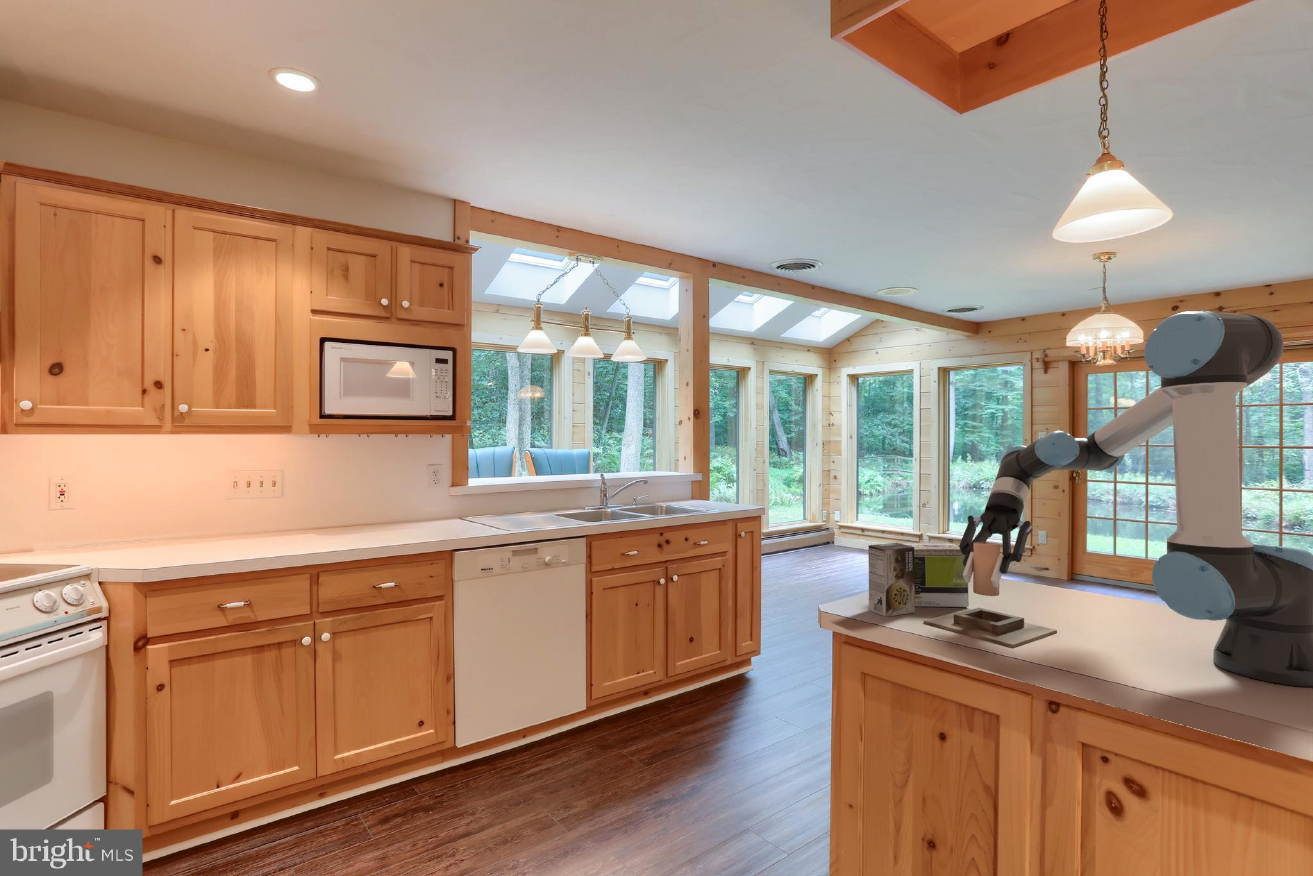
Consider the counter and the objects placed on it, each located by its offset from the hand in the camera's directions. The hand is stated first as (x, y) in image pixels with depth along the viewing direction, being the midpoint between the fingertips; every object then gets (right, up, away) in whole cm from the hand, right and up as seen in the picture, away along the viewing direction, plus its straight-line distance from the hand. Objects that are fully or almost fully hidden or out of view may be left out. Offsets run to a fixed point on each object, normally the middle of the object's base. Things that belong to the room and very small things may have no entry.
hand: (979, 581), depth 138 cm
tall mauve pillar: (+3, -3, +3) cm, 5 cm away
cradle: (+3, -11, +2) cm, 11 cm away
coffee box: (-14, -11, +15) cm, 23 cm away
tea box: (0, -11, +23) cm, 26 cm away
